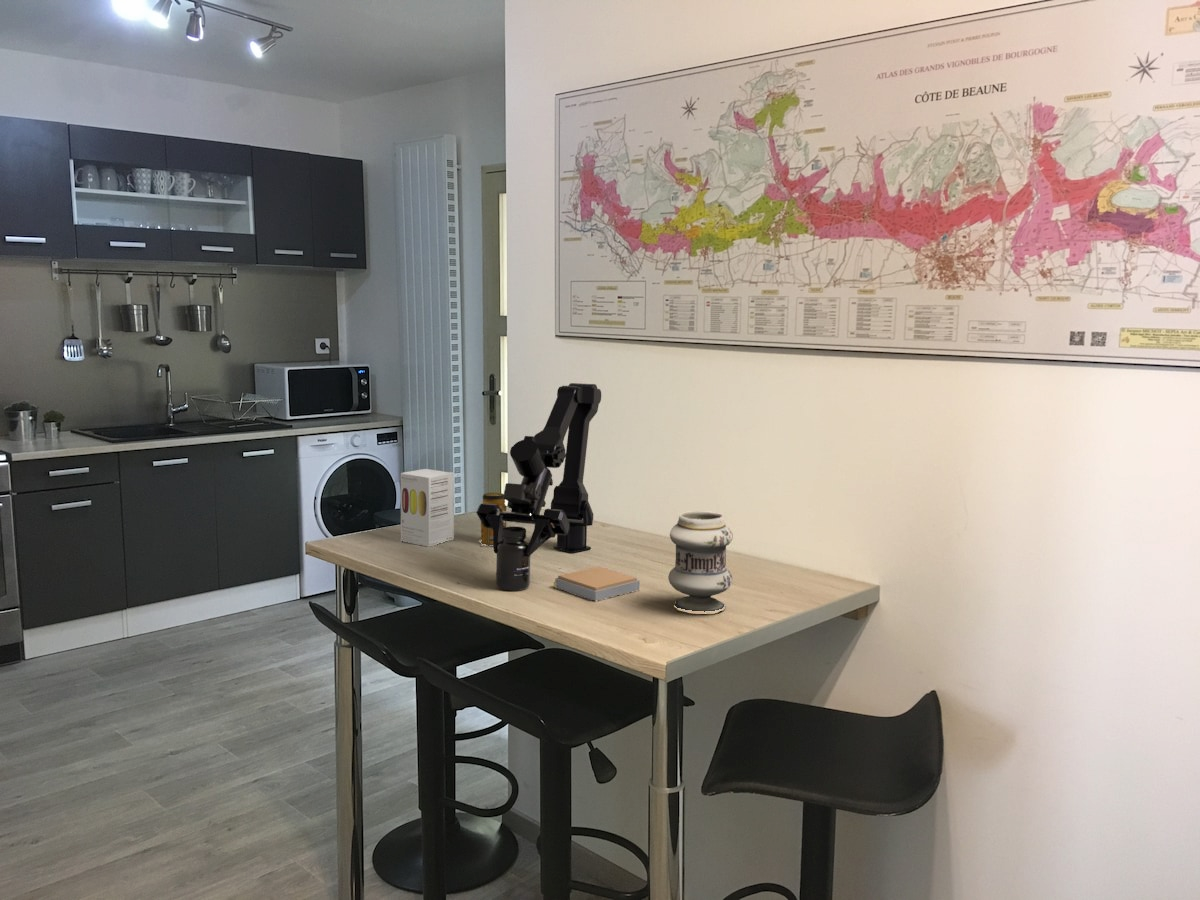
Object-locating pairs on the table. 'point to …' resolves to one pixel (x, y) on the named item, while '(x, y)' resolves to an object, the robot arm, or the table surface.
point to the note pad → (596, 583)
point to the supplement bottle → (513, 560)
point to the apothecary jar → (700, 560)
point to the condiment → (498, 499)
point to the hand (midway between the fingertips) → (511, 554)
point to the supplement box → (427, 507)
